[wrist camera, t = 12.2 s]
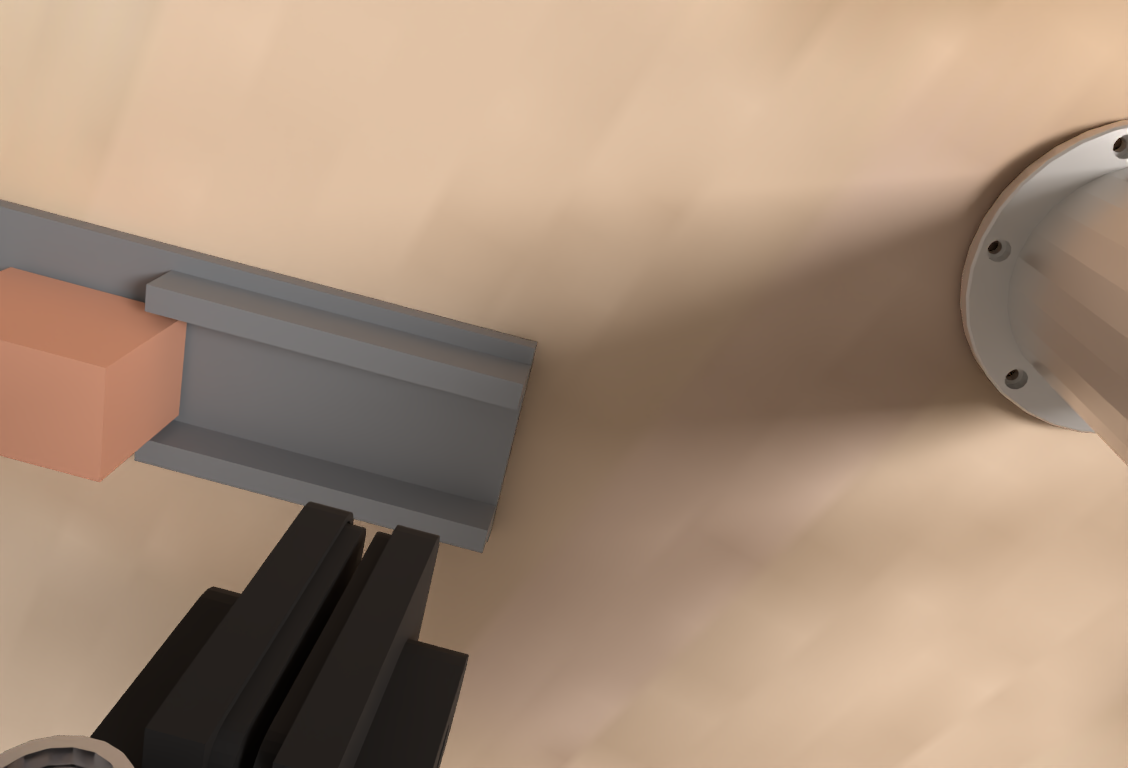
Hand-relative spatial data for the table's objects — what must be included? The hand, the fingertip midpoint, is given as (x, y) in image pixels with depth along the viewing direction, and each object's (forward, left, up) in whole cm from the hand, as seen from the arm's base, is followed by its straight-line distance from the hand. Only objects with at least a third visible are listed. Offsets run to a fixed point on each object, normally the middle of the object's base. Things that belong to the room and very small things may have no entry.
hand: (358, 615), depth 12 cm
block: (+19, +12, -28) cm, 36 cm away
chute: (+14, +12, -29) cm, 34 cm away
